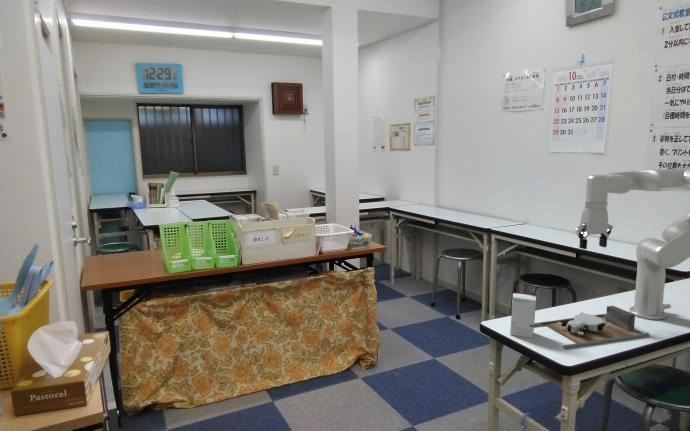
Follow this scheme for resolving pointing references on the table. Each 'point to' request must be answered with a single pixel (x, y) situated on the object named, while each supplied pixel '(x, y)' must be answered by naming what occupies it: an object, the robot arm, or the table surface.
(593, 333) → the brown rectangular mat
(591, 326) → the robot toy
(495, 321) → the table surface
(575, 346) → the guide rails
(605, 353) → the table surface
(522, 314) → the skincare box
